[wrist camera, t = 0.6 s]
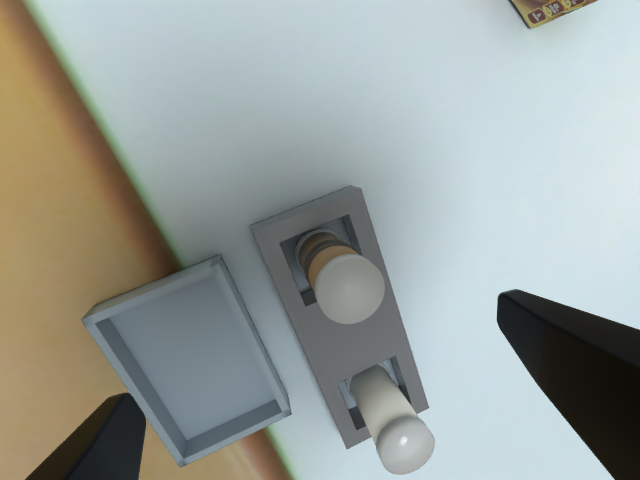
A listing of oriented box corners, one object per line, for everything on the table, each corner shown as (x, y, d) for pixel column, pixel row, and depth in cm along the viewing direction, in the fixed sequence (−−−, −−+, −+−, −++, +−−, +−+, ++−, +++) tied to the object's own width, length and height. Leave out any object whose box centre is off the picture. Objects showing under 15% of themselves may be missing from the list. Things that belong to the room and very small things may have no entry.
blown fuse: (349, 264, 24) (392, 307, 17) (305, 283, 23) (331, 335, 17) (334, 220, 23) (373, 247, 16) (287, 239, 22) (308, 275, 16)
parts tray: (287, 395, 25) (291, 414, 23) (184, 444, 24) (179, 467, 22) (220, 254, 21) (218, 263, 20) (94, 305, 20) (80, 319, 19)
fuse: (390, 383, 27) (440, 457, 20) (352, 401, 27) (390, 483, 20) (379, 349, 26) (427, 416, 19) (339, 368, 26) (374, 443, 19)
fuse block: (416, 390, 28) (429, 407, 26) (339, 428, 27) (346, 449, 25) (350, 185, 22) (361, 188, 20) (250, 225, 21) (252, 232, 19)
